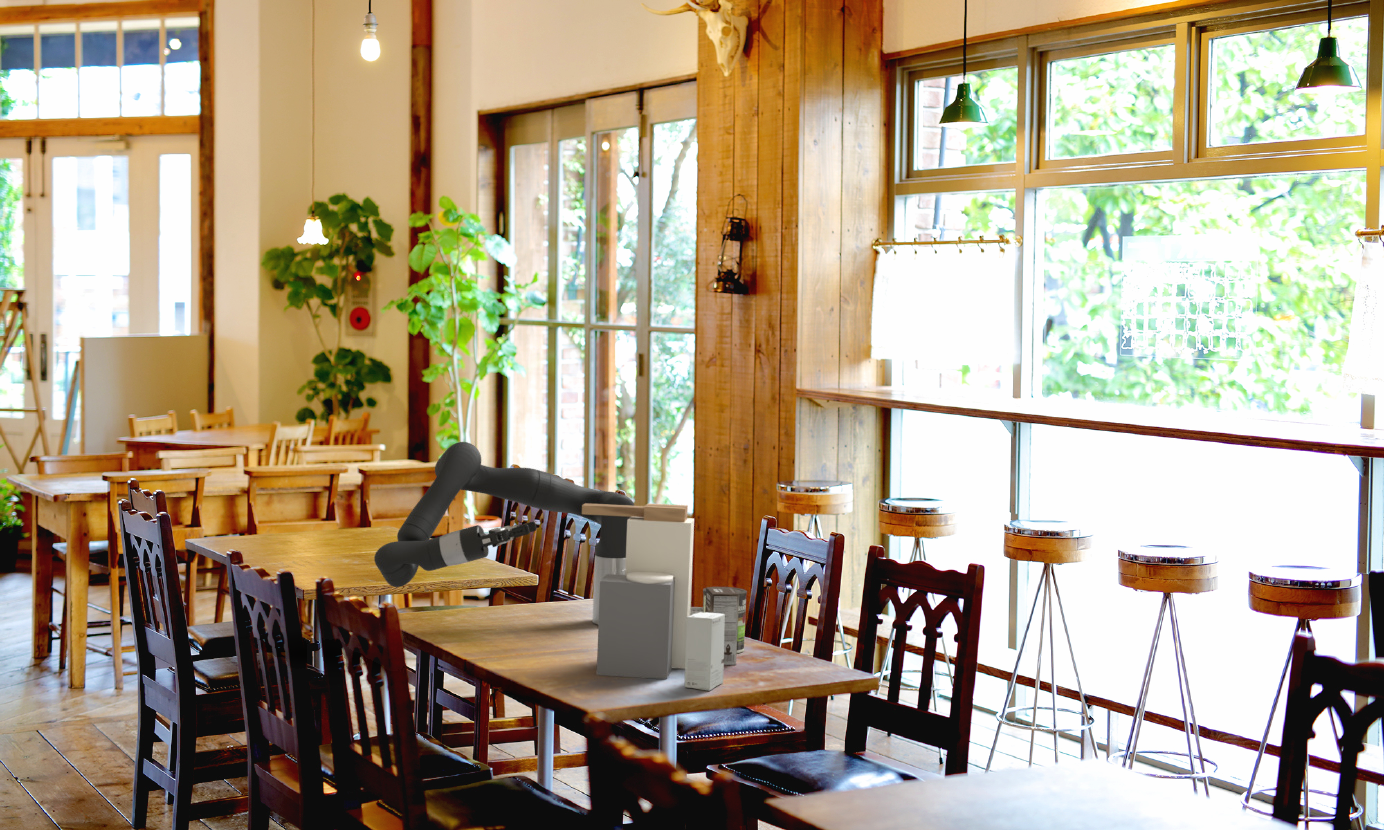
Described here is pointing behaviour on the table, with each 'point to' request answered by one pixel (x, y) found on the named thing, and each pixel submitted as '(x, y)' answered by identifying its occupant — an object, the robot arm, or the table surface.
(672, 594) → the gray box
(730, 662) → the coffee box
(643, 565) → the tall plinth
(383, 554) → the robot arm
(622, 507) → the oak block
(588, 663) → the table surface
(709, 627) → the skincare box
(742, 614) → the coffee can
